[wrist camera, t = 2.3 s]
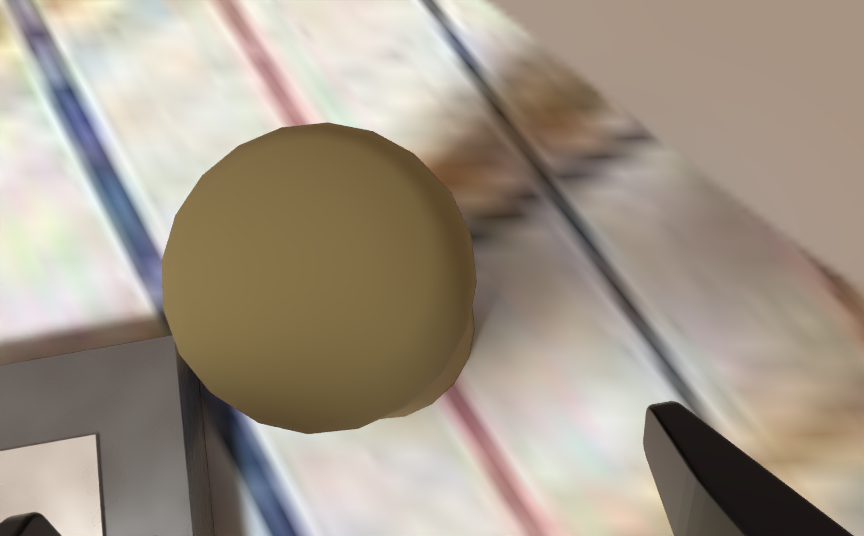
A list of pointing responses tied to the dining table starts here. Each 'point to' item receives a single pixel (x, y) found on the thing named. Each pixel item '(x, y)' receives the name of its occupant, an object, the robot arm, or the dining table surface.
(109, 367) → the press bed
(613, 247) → the dining table surface
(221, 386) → the cork
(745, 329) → the dining table surface
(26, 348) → the dining table surface
